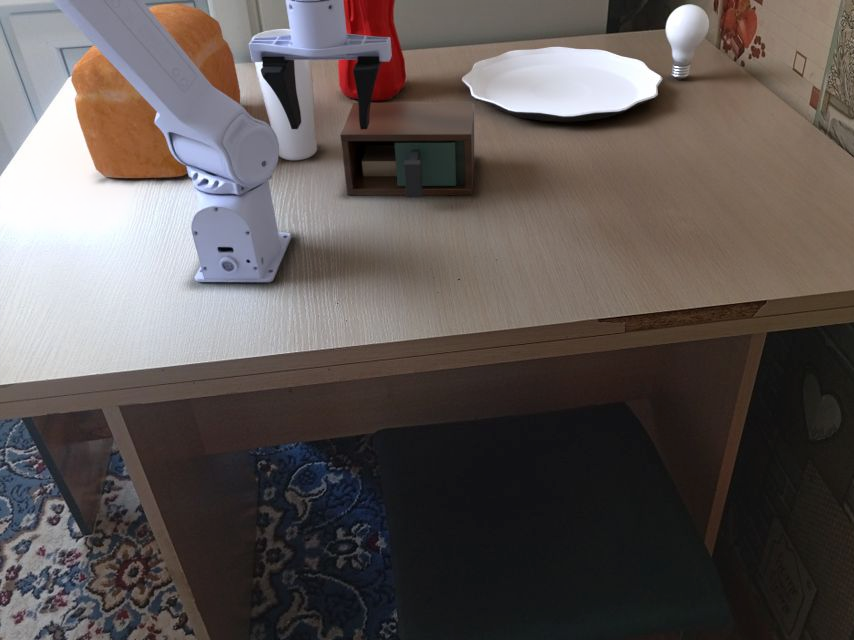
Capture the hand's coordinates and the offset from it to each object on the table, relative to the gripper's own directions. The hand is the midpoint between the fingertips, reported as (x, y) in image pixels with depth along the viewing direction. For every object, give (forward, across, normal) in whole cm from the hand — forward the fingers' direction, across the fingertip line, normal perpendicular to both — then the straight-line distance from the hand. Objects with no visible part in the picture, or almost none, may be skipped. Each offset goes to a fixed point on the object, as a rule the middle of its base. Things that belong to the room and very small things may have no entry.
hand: (330, 125), depth 87 cm
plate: (+10, -28, -36) cm, 47 cm away
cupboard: (+9, -8, -7) cm, 14 cm away
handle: (+8, -10, 0) cm, 13 cm away
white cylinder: (+10, +8, -14) cm, 19 cm away
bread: (+10, +26, -19) cm, 34 cm away
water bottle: (+10, +1, -36) cm, 37 cm away
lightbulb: (+10, -46, -42) cm, 64 cm away
